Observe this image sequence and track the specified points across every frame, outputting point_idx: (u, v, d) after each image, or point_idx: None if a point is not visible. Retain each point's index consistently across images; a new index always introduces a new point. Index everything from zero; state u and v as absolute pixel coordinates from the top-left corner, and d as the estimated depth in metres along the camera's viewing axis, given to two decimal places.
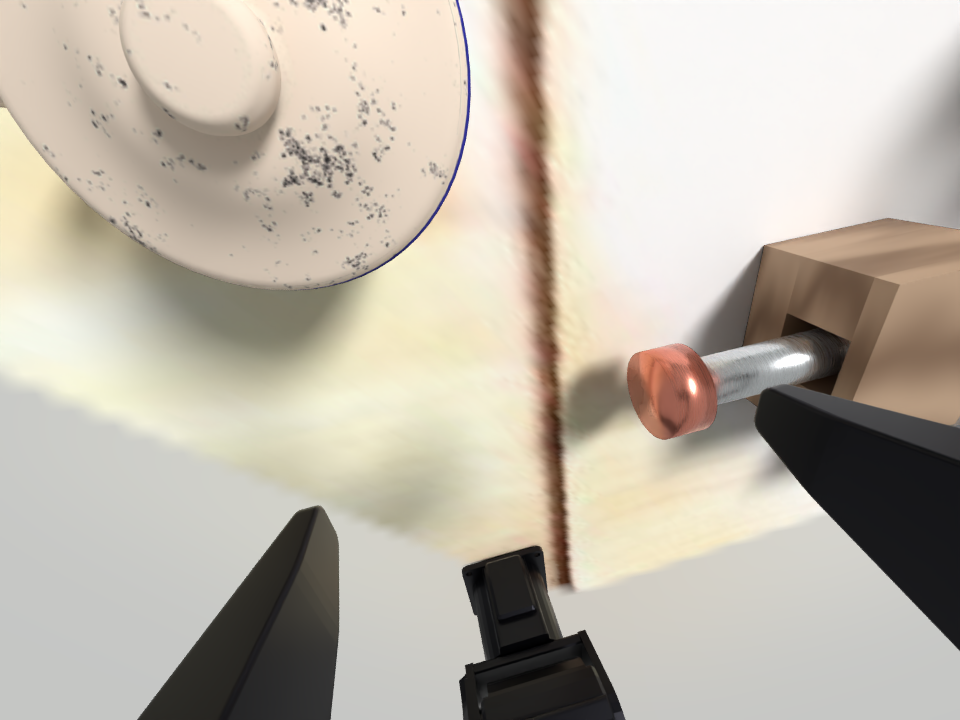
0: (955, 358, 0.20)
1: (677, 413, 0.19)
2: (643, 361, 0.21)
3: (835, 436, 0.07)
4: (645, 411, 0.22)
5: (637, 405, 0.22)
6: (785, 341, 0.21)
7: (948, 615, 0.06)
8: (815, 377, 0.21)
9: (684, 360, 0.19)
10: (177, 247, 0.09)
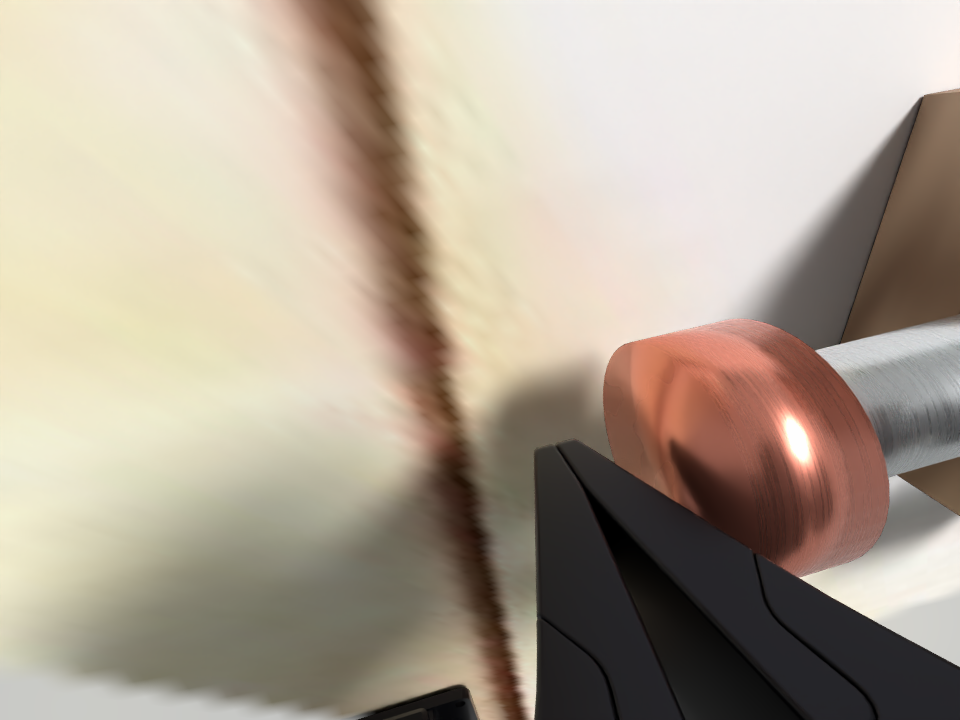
0: None
1: (757, 545, 0.05)
2: (641, 367, 0.07)
3: None
4: None
5: None
6: None
7: None
8: None
9: (770, 364, 0.06)
10: None
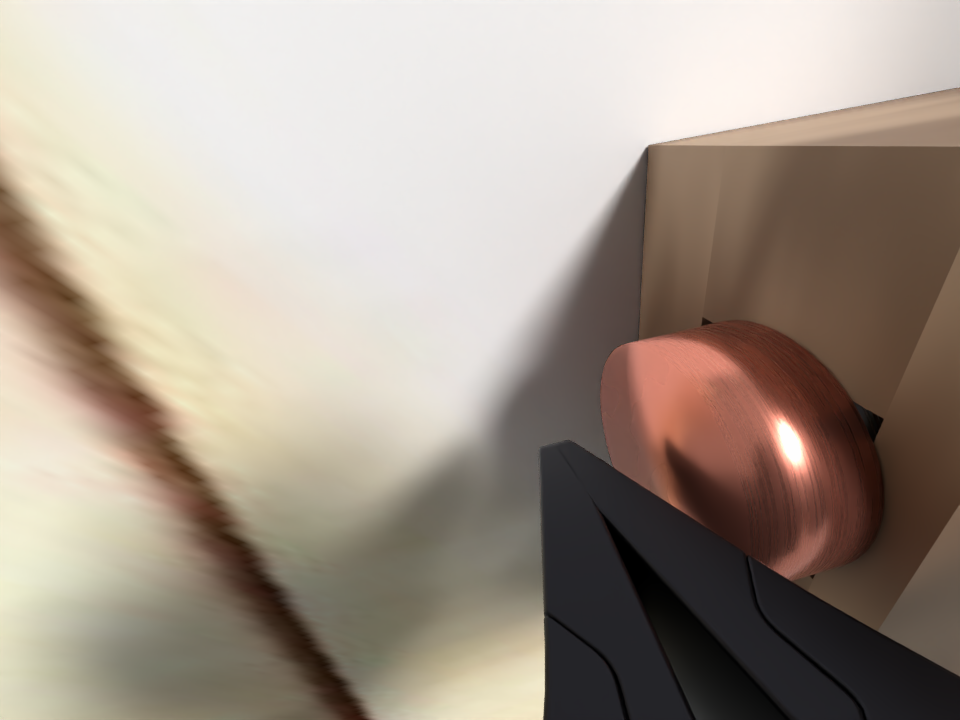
0: None
1: (749, 548, 0.05)
2: (636, 368, 0.07)
3: None
4: None
5: None
6: None
7: None
8: None
9: (764, 366, 0.06)
10: None
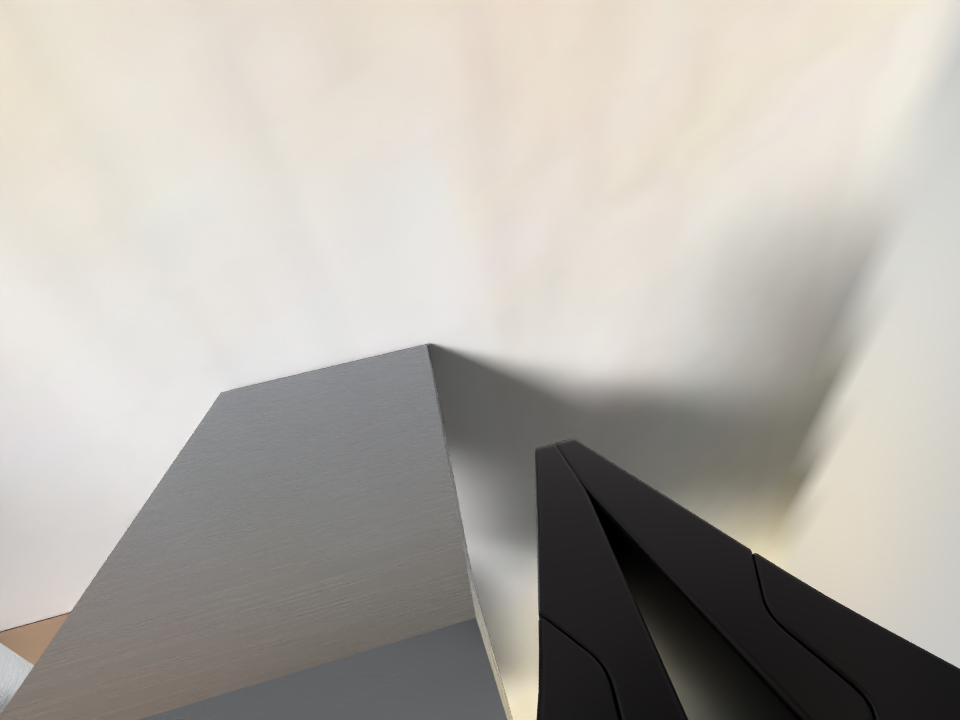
0: None
1: None
2: None
3: None
4: None
5: None
6: None
7: None
8: None
9: None
10: None
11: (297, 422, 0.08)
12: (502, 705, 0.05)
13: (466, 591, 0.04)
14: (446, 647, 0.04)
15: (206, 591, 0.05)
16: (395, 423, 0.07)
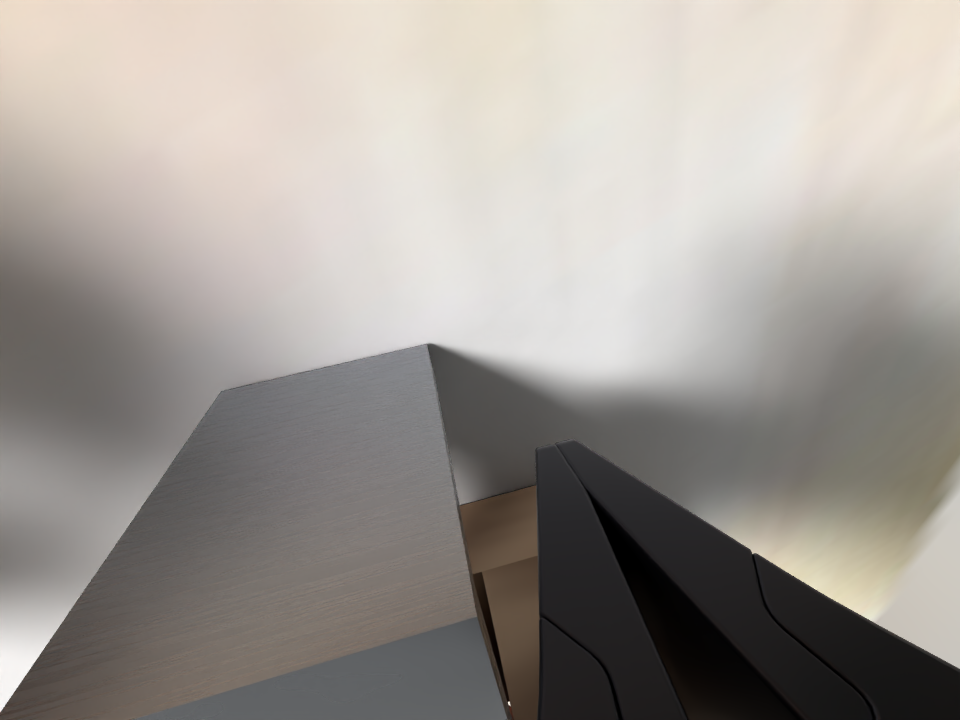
0: None
1: None
2: None
3: None
4: None
5: None
6: None
7: None
8: None
9: None
10: None
11: (297, 421, 0.08)
12: (502, 704, 0.05)
13: (467, 590, 0.04)
14: (447, 646, 0.04)
15: (206, 589, 0.05)
16: (396, 422, 0.07)
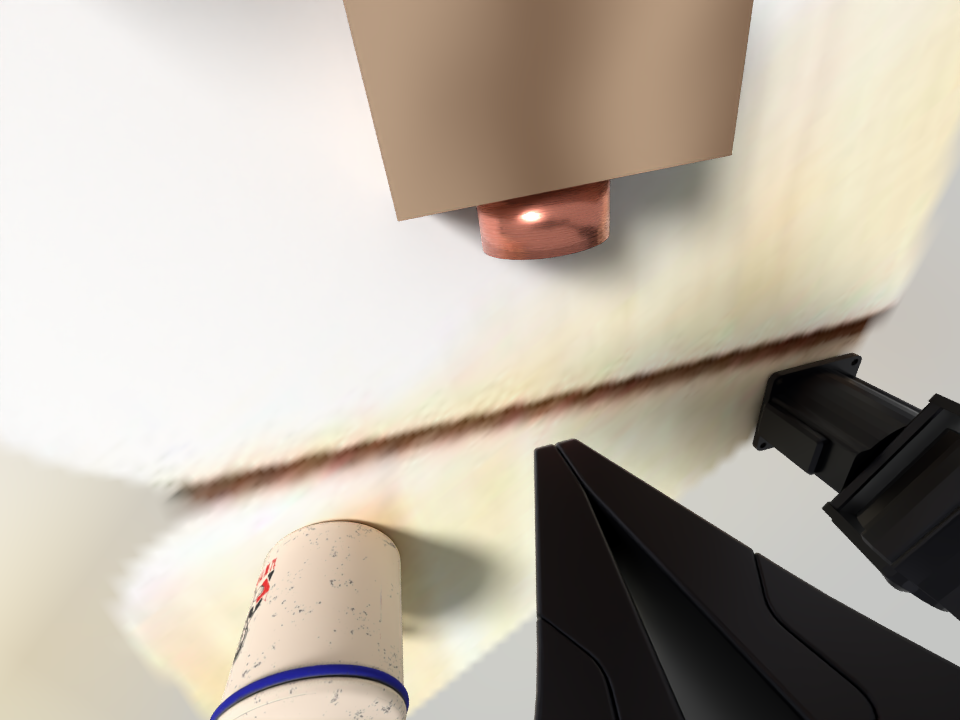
0: None
1: None
2: None
3: None
4: None
5: None
6: None
7: None
8: None
9: (486, 220, 0.13)
10: None
11: None
12: None
13: None
14: None
15: None
16: None
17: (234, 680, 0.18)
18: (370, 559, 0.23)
